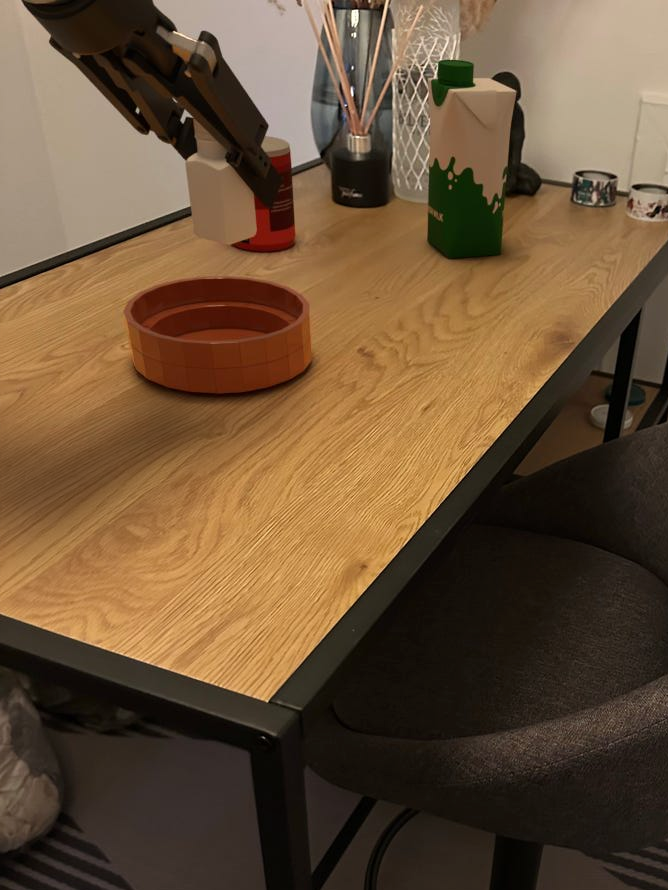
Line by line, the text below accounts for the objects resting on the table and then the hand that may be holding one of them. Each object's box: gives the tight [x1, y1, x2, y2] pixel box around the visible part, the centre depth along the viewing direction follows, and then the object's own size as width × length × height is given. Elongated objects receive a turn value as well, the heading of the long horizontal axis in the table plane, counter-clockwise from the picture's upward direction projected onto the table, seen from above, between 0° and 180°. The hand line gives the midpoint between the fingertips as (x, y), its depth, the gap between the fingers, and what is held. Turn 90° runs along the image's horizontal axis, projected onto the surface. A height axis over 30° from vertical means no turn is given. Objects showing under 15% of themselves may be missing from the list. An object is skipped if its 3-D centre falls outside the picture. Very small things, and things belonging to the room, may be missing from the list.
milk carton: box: [427, 59, 518, 260], centre depth 111 cm, size 9×9×20 cm
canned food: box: [232, 135, 296, 253], centre depth 111 cm, size 8×8×11 cm
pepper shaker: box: [184, 117, 257, 246], centre depth 76 cm, size 4×4×10 cm
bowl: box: [122, 275, 313, 394], centre depth 86 cm, size 16×16×5 cm
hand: (249, 187), depth 80 cm, fingers closed on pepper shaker, 4 cm apart
